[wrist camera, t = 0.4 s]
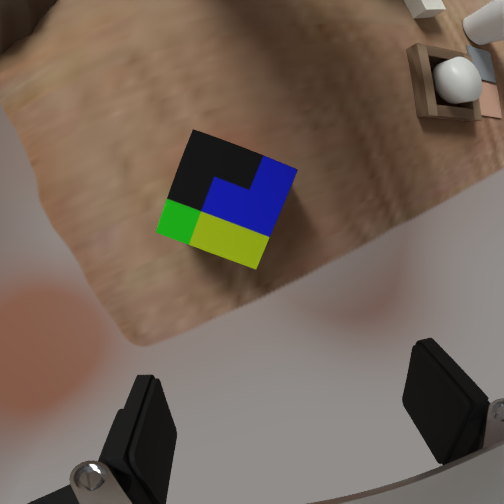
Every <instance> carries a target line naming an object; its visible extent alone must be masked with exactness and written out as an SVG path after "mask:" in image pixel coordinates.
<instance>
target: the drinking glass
mask: <svg viewBox="0 0 504 504" xmlns="http://www.w3.org/2000/svg"><path fill="white" fill-rule="evenodd" d="M463 28H464V31H465V33H466V35H467V36H468V37H469V39H470V40H471V41H473V42H474V43H475V44H478V45H485V44H488V43H492V42H497V41H502V40H504V0H492V1H491V2H489V3H488V4H486V5H485V6H483V7H481V8H480V9H478V10H477V11H475V12H474V13H472V14H470V15H468V16H466V17H465V18H464V20H463Z"/></svg>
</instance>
